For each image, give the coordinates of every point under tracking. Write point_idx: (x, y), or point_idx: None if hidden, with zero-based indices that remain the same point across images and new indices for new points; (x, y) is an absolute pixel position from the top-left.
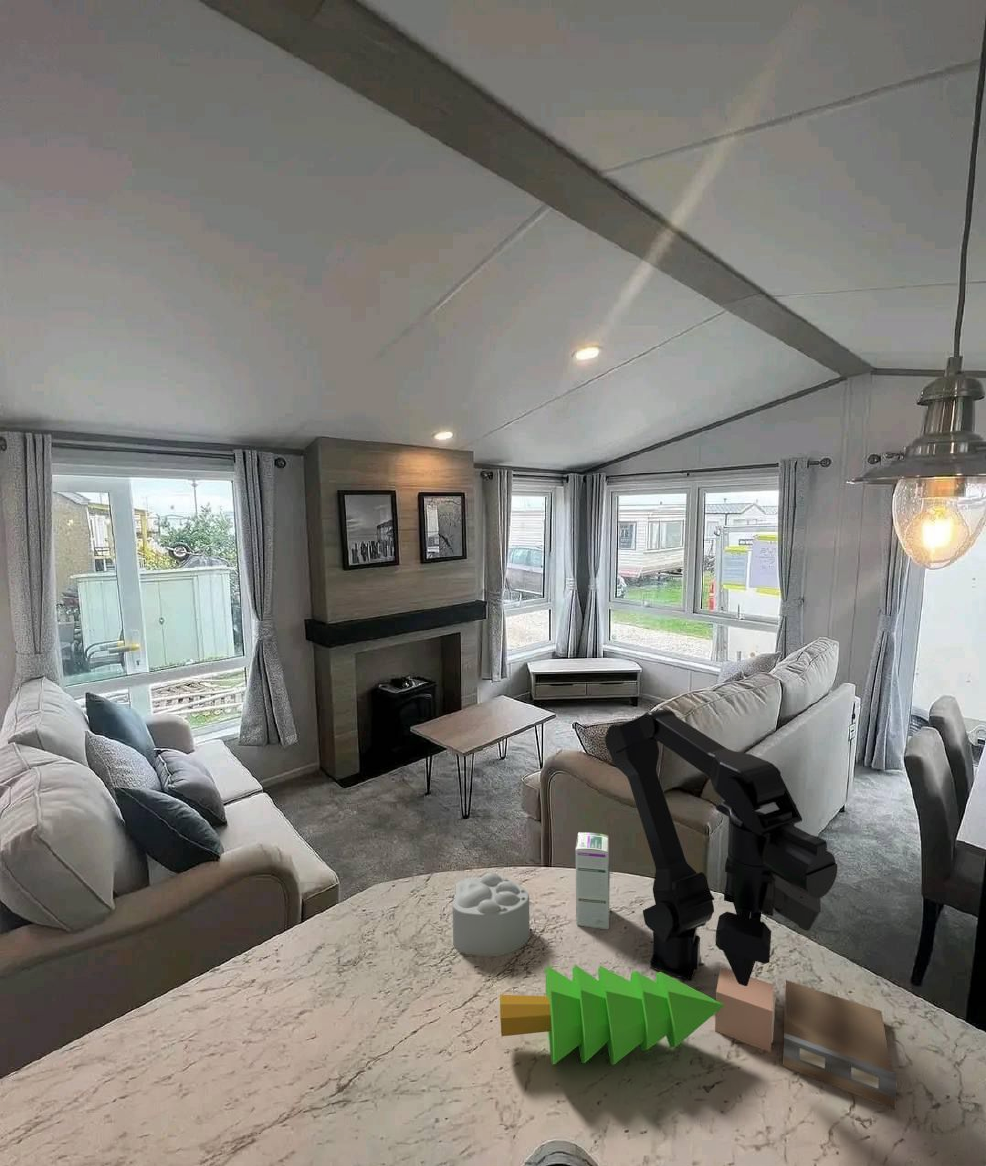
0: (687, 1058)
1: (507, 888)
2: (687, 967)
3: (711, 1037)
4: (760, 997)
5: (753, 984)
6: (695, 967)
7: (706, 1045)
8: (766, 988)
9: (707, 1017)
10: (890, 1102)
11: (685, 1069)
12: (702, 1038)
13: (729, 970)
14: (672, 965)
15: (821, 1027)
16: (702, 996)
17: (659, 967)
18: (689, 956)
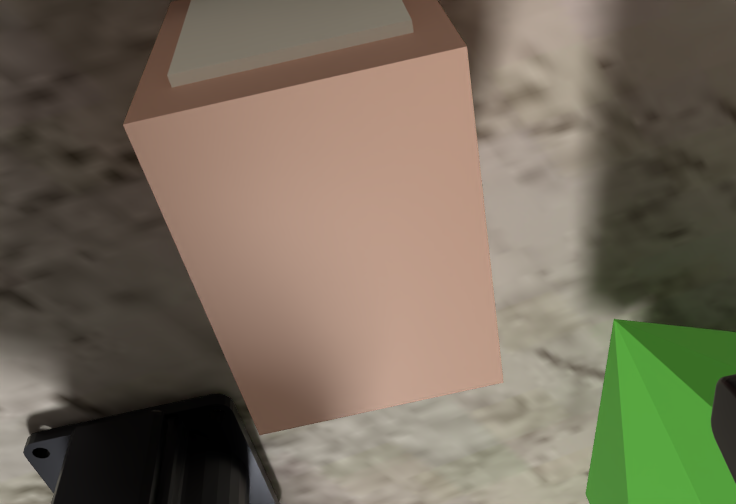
0: (662, 250)
1: None
2: (185, 442)
3: (493, 218)
4: (366, 166)
5: (260, 246)
6: (161, 426)
7: (552, 218)
8: (224, 160)
9: (732, 343)
10: None
11: (721, 236)
12: (522, 244)
13: (250, 394)
14: (243, 486)
15: None
16: (710, 447)
17: (269, 496)
18: (175, 493)
